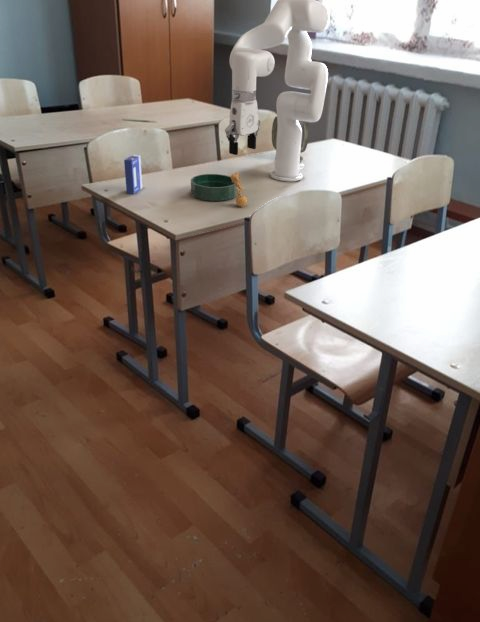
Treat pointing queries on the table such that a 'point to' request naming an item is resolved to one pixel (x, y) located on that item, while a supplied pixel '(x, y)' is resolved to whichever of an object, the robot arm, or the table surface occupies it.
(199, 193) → the bowl
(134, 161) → the walkman
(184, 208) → the table surface
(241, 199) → the figurine
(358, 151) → the table surface
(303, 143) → the tabletop clock
